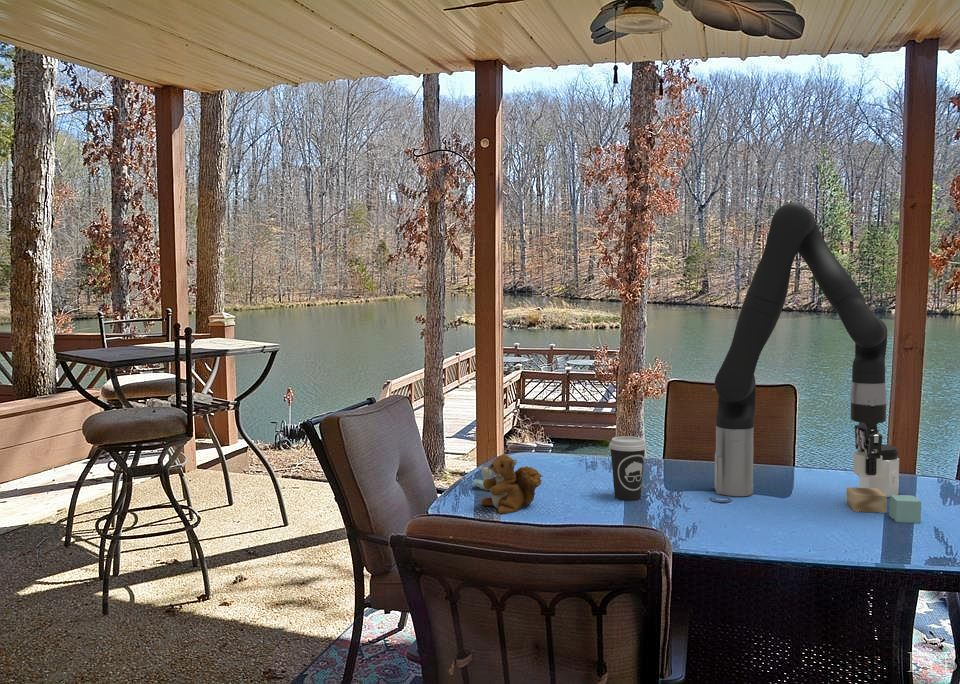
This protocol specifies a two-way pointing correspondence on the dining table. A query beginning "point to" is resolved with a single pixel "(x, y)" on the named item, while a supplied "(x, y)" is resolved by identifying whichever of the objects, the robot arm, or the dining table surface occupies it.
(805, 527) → the dining table surface
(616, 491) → the coffee cup
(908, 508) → the teal cube
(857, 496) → the base block
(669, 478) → the dining table surface
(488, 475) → the pacifier
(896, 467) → the jar
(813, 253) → the robot arm
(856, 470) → the cream cube
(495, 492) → the stuffed squirrel
